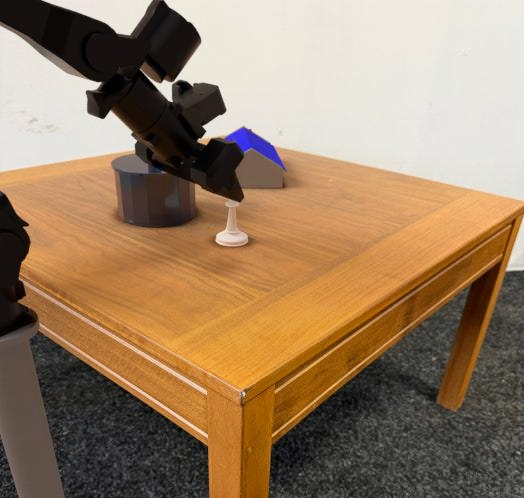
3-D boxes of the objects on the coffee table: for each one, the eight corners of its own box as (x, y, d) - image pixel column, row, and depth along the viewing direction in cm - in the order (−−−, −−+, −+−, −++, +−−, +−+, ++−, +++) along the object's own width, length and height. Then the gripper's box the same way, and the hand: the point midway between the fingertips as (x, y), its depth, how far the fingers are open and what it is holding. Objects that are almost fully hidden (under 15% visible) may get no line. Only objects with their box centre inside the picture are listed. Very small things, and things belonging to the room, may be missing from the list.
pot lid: (154, 186, 80) (152, 157, 78) (93, 169, 87) (89, 142, 85) (214, 168, 90) (214, 142, 88) (155, 154, 96) (153, 130, 94)
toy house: (212, 159, 125) (211, 125, 121) (273, 160, 126) (274, 126, 122) (215, 187, 106) (214, 148, 102) (286, 187, 108) (288, 148, 104)
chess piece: (249, 235, 85) (250, 170, 80) (246, 247, 81) (248, 179, 76) (217, 234, 85) (217, 168, 80) (213, 245, 81) (212, 177, 76)
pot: (157, 233, 85) (154, 181, 81) (103, 214, 91) (97, 165, 87) (211, 213, 94) (210, 165, 89) (158, 197, 100) (155, 152, 95)
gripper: (232, 67, 60) (299, 159, 72) (148, 52, 72) (217, 133, 84) (173, 150, 60) (250, 228, 72) (99, 121, 72) (175, 192, 84)
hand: (222, 191), depth 78 cm, fingers open, 9 cm apart
